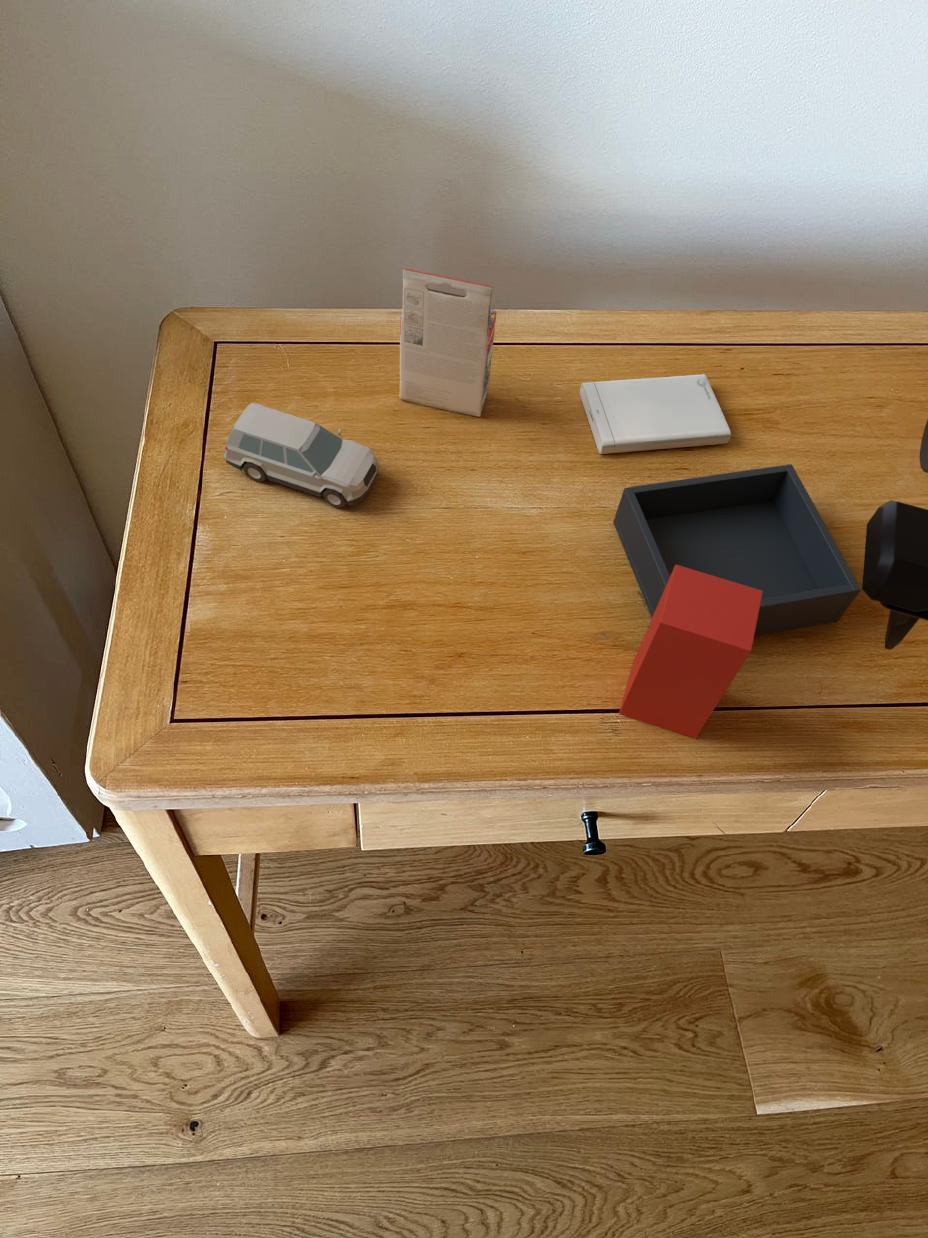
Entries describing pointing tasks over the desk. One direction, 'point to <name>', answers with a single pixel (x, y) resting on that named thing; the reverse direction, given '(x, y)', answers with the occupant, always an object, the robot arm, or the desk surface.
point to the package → (691, 651)
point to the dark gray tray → (739, 543)
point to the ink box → (445, 343)
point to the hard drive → (653, 413)
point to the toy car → (300, 456)
